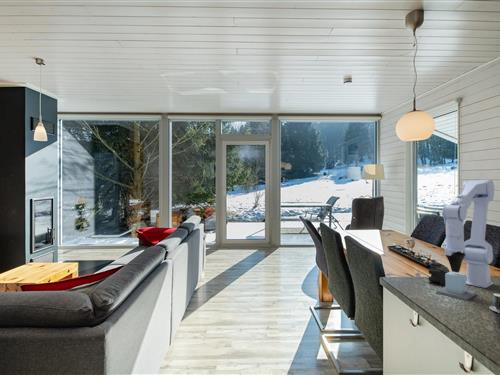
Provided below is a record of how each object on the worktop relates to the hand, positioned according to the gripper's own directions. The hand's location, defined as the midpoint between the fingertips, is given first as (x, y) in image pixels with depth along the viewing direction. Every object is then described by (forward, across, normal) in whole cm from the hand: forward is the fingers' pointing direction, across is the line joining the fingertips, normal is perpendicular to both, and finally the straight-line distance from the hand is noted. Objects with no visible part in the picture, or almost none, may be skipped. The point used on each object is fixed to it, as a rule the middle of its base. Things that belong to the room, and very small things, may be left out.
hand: (455, 271), depth 117 cm
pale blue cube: (+7, 0, 0) cm, 7 cm away
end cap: (+9, -11, -10) cm, 17 cm away
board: (+8, 0, 0) cm, 8 cm away
